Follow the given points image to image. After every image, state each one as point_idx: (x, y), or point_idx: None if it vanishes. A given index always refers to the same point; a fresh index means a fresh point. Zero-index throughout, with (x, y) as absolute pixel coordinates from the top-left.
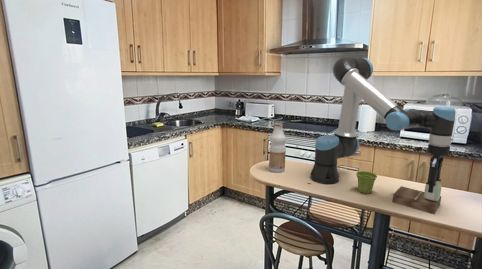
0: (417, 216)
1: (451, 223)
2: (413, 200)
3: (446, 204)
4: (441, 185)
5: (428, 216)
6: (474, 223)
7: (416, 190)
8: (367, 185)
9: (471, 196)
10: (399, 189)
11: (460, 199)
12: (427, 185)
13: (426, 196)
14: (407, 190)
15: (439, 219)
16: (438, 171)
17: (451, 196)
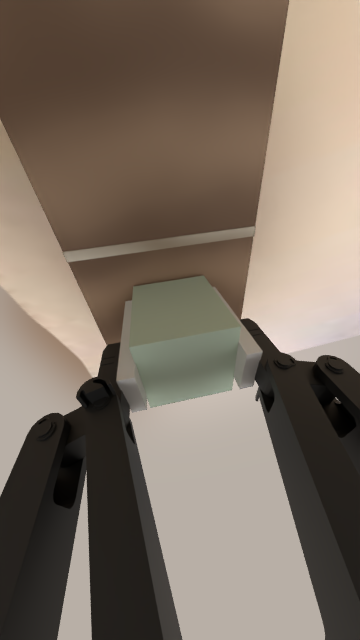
0: (10, 288)
1: (95, 363)
2: (64, 245)
3: (242, 309)
4: (221, 389)
5: (67, 312)
6: None
7: (249, 195)
8: None
9: (354, 327)
10: (164, 14)
11: (315, 319)
12: (133, 358)
13: (125, 310)
14: (199, 127)
15: (85, 339)
16: (298, 521)
17: (333, 295)
